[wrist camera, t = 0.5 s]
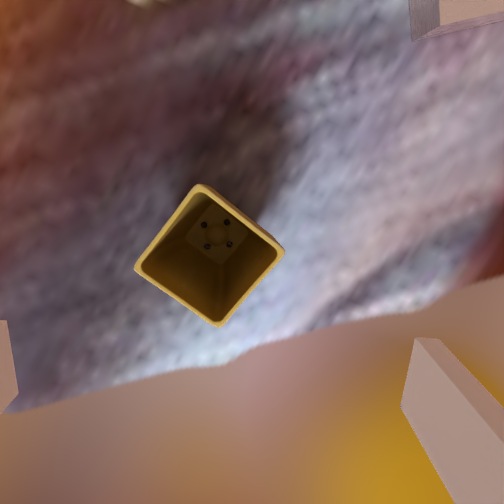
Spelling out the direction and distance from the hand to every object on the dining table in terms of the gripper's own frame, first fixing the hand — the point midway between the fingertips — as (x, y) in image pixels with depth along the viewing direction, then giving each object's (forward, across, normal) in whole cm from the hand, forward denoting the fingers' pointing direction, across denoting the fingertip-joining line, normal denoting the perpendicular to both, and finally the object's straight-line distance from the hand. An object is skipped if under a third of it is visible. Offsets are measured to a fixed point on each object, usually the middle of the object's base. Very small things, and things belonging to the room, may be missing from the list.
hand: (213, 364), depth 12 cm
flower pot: (+26, -2, -2) cm, 26 cm away
